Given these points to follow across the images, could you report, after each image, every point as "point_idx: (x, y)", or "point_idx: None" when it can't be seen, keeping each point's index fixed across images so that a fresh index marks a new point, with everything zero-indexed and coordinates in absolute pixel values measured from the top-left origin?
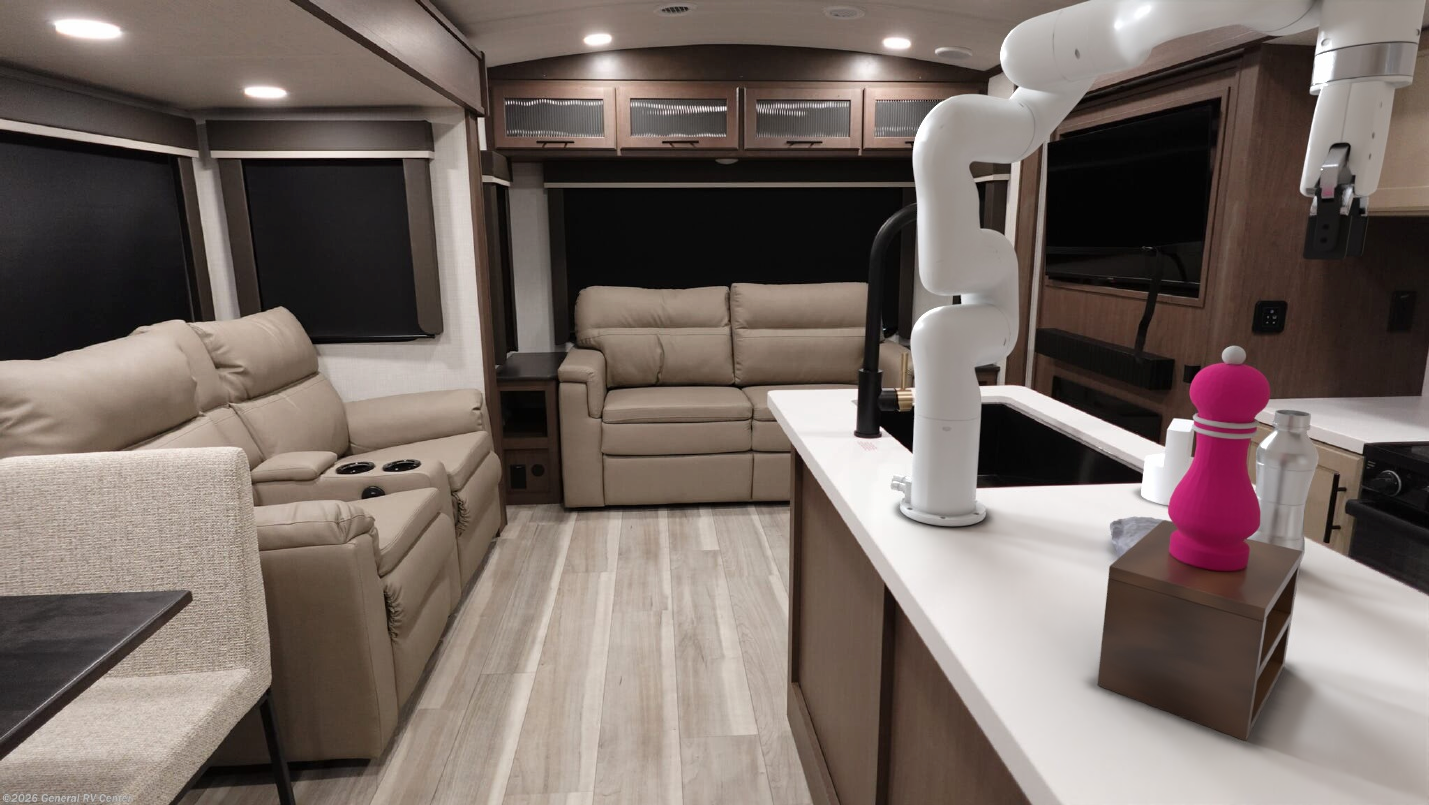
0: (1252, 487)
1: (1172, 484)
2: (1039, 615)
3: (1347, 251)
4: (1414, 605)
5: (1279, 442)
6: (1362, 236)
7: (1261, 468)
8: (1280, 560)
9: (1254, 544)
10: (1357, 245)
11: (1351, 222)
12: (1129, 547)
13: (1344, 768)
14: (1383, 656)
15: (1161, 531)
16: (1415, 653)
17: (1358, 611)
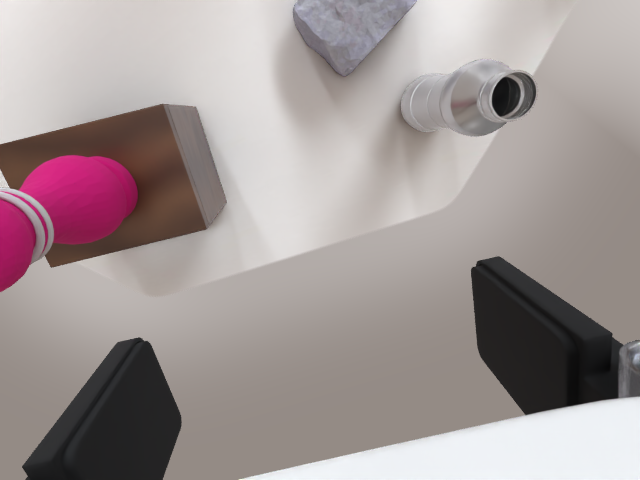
0: (76, 240)
1: None
2: (114, 29)
3: (480, 331)
4: (426, 212)
5: (463, 97)
6: (513, 398)
7: (444, 82)
8: (164, 229)
9: (181, 197)
10: (494, 366)
11: (547, 407)
12: (296, 7)
13: (138, 272)
14: (307, 233)
15: (126, 123)
16: (332, 242)
17: (376, 193)
